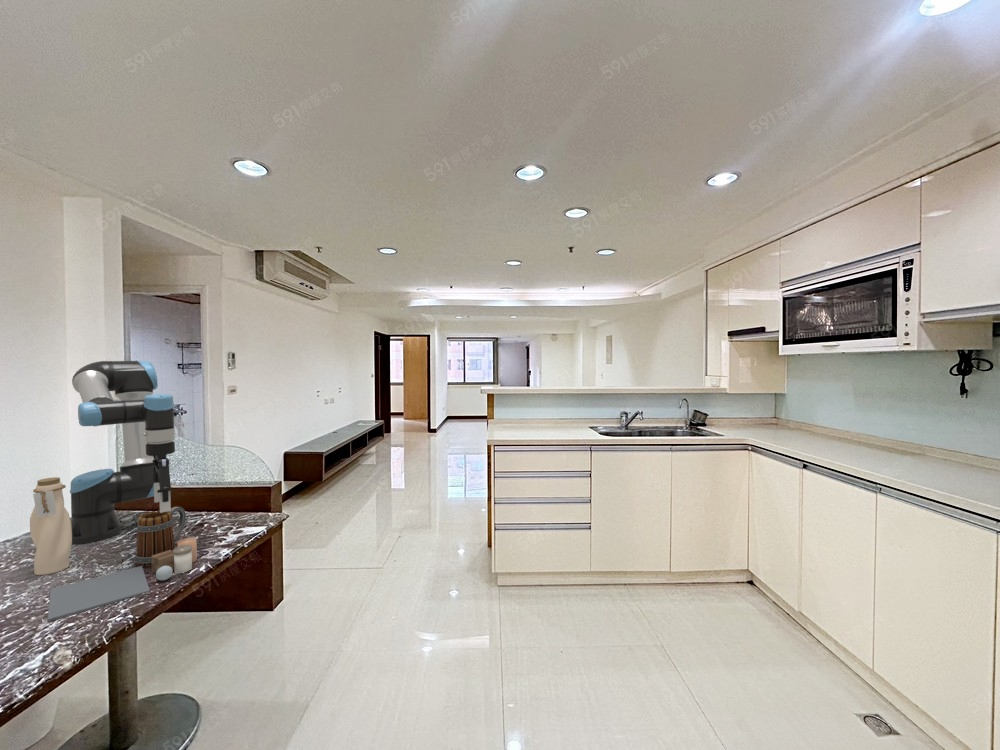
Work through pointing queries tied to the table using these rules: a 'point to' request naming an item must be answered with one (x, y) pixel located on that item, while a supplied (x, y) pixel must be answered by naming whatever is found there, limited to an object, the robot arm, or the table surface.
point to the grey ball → (164, 573)
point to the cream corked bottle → (50, 527)
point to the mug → (157, 534)
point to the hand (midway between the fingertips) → (162, 506)
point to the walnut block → (162, 560)
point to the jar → (182, 558)
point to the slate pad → (96, 592)
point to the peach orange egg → (193, 543)
